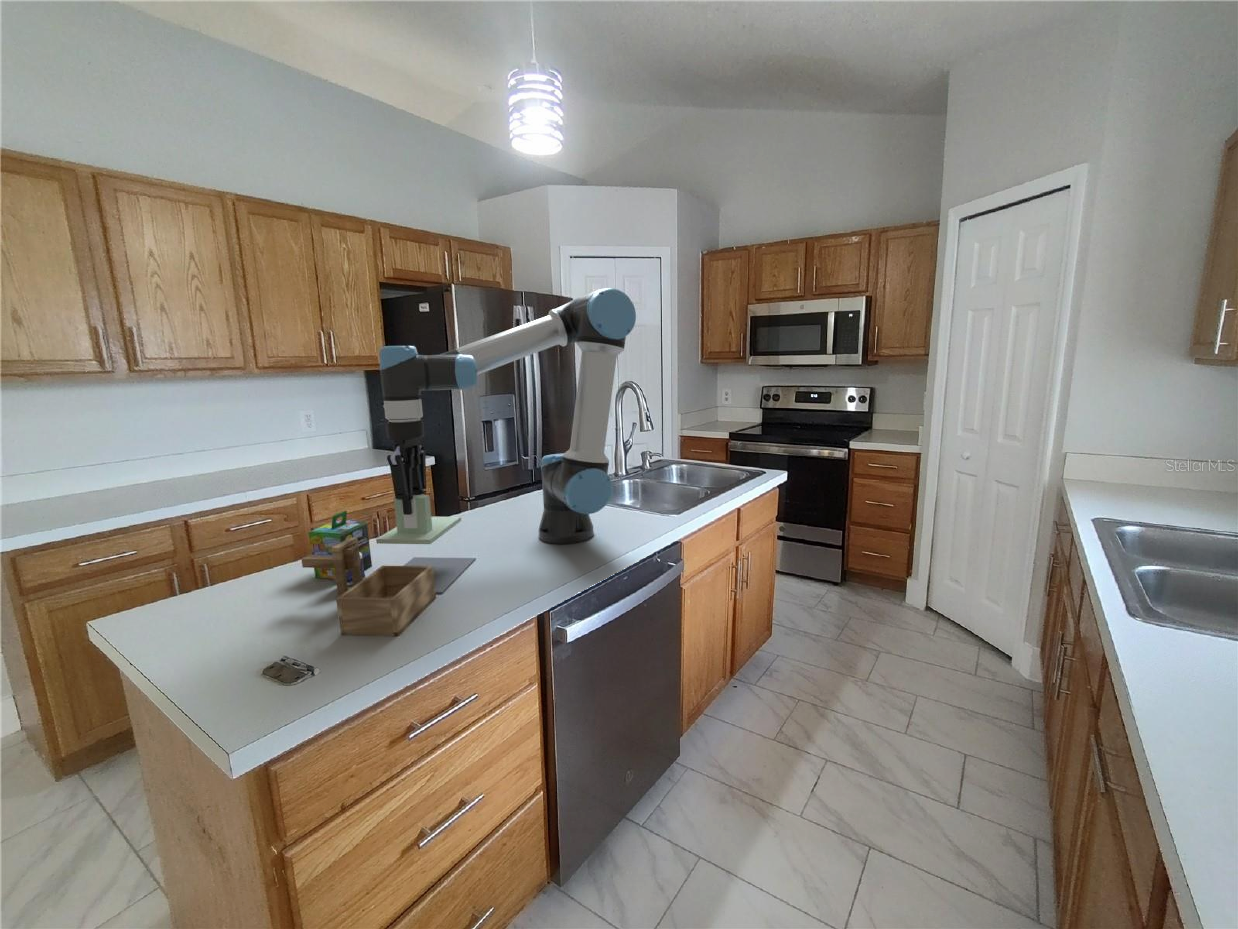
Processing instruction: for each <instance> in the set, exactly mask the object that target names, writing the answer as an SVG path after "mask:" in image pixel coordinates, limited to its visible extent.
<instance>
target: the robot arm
mask: <svg viewBox="0 0 1238 929" xmlns="http://www.w3.org/2000/svg"><path fill="white" fill-rule="evenodd" d="M636 312H637V311H636V307H635V306H634V303H633V301H632V300H631V298H630V297H629V296H628V295H627V294H626V293H625V292H623V291H621V290H620V289H617V288H615V287H614V288H613V287H612V288H611V287H609V288H608V287H606V288H599V289H597V290H595V291H592V292H588V293H584V294H582V295H579V296H577V297H576V298H574V299H572V300H570V301H569V302H567V303H565V304H562V305H561V306H559V307H556V308H552V309H550V310H549V311H548V314H547V315H545V316H543V317H540V318H537V319H535V320H531V321H530V322H526V323H524V324H521V325H517V326H515V327H512V328H510V329H507V330H504V331H501V332H498V333H496V334H493V335H490V336H487V337H484V338H482V339H479V340H475V341H473V342H471V343H467V344H465V345H463V346H460V347H457V348H455V349H452V350H447V351H446V352H445V351H444V352H442V353H440V354H431V355H428V354H427V355H425V354H419V352H418V350H417V347H416V346H415V345H387V346H383V347H381V348H380V349H379V351H378V355H379V373H380V382H381V389H382V396H383V397H382V399H383V409H384V418H385V419H386V420H388V421H386V422H385V430H386V437H387V439H389V440H392V441H393V448H392V449H393V453H392V454H388V455H387V457H386V460H387V463H388V464H389V468H390V474H391V475H390V476H391V481H392V485H393V492H394V497H395V498H396V499H397V500H402V506H403V516H404V526H405V528H418V521H417V511H416V500H415V499H413V495H427V490H426V489H427V486H428V485H427V466H426V465H427V464H426V463H427V462H426V461H427V460H426V454H427V446H426V445H421V443H420V442H421V441H420V440H419V439H422V438H423V437H425V427H424V425H425V424H424V421H423V420H422V419H421V418H423V416H424V414H423V413H424V412H423V411H424V410H423V405H422V404H423V403H422V395H421V391H447V390H448V391H450V390H460V391H463V390H467V389H474V388H475V387H476V386H477V384H478V375H480V374H482V373H483V374H484V373H486V372H489V371H491V370H494V369H497V368H498V367H502V366H505V365H507V364H510V363H512V362H516V361H517V360H520V359H523V358H526V357H528V356H531V355H534V354H536V353H540V352H542V351H544V350H547V349H550V348H553V347H554V346H558V345H559V346H561V347H566V346H568V345H572V344H575V343H576V345H577V347H579V349H580V351H581V357H580V362H579V363H580V364H579V373H578V374H579V375H578V381H577V389H576V397H575V404H574V414H573V420H572V428H571V436H570V437H571V438H570V443H569V444H570V446H569V449H568V450H566V451H565V452H563V453H561V452H560V453H555V454H548V455H544V456H543V457H542V458H541V466H540V470H541V482H542V500H543V501H542V502H543V512H542V515H541V519H540V523H539V527H538V538H539V540H541V541H542V542H544V543H548V544H556V545H565V544H566V545H567V544H576V543H579V542H580V543H581V542H583V541H587V540H589V539H591V538H592V537H593V536H594V523H593V522H592V519H591V516H590V515H591V514H595V513H598V512H600V511H601V510H602V509H604V508H605V507H606V506H607V505H608V503H609V502H610V501H611V498H612V495H613V490H614V488H613V486H614V485H613V482H612V479H611V478H610V475H609V474H608V473H609V466H610V465H609V464H610V460H609V458H608V457H607V455H606V453H605V448H606V443H607V442H606V441H607V434H608V433H607V432H608V427H609V426H608V425H609V418H610V409H611V404H612V403H611V402H612V395H613V389H614V387H613V386H614V381H615V380H614V379H615V373H616V372H615V371H616V367H617V366H616V364H617V358H618V356H619V355H620V354H621V353H622V352H624V351H625V346H626V345H625V344H626V340H627V336H629V335H630V333H631V332H632V331H633V329H634V327H635V324H636V319H637V313H636Z"/></svg>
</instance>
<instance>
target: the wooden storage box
mask: <svg viewBox="0 0 1238 929" xmlns="http://www.w3.org/2000/svg"><path fill="white" fill-rule="evenodd" d="M349 546H358V540H357V538H348V539H346V540H345V541H343V542H341V543H339V544H338V545H336V546H334V547H332V548H331V549H332V556H333V563H334V570H335V578H336V579H335V583H336V585H335V586H336V591H337V598H335V602H336V609H337V615H338V622H339V630H340V635H341V636H372V637H373V636H375V637H376V636H379V637H380V636H381V637H399V636H400V635H401V634H402V633H403V632H404V631H405V630H406V629H407V628H408V627H409V626H410V625H411V624H412V623H413V622H414V621H415V620H416V619H417V618H418V617H419V616H420V615H421V614H422V613H423V612H424V611H425V610H426V609H427V608H428V607H429V606H430V605H431V604H432V603H433V602H434V600H436V599H437V594H436V592H435V582H434V572H433V566H404V565H380V567H378V568H377V569H376V570H374V571H372V572H371V573H370V574H369V575H367V576H365V578H364V579H362V572H361V564H360V565H358V566H357V567H355V568H345V564H344V556H343V550H344V549H345V548H347V547H349ZM350 570H351V573H352V581H353V587H352V588H351V589H349V590H348V586H347V579H346V573H347V572H349V571H350Z"/></svg>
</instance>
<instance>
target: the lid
mask: <svg viewBox="0 0 1238 929" xmlns="http://www.w3.org/2000/svg"><path fill="white" fill-rule="evenodd" d="M430 497H431V496H430V495H429V494H421V495H413V499H415V500H416V511H417V521H418V528H405V526H404V516H403V506H402V500H397V499H396V498H395V496H394V497H393V503H394V504H393V505H394V512H395V523H396V526H395V527H394V528H392V529H391V530H389V531H387V532H385V533H384V534H382V535H381V536H379V537H377V538H375V541H376V544H382V545H383V544H384V545H385V544H386V545H387V544H388V545H389V544H390V545H391V544H392V545H394V544H395V545H432V544H433V543H434V542H436V541H438V539H439V538H441V537H442V536H443V535H445V534H446V533H448V531H450V530H451V529H453V528H454V527H455V526H456V525H458V524H459V523H461V522H462V516H432V512H431V511H432V509H431V500H430V499H431V498H430Z"/></svg>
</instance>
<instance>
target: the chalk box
mask: <svg viewBox="0 0 1238 929" xmlns="http://www.w3.org/2000/svg"><path fill="white" fill-rule="evenodd" d="M347 516H348V511H347V510H343V511H340V512H339V513H336V514H334V515H333V516H332V521H330V522H327V523H324V524H322V525H320V526H318V527H316V528H314V529H312V530H310V531H309V532H308V537H309V543H310V550H311V551H310V552H311V555H332V549H331V548H332V547H334V546H336V545H338V544H339V543H341V542H343V541H345V540H346V539H348V538H357V540H358V546H359V552H360V553H361V554H362V557H363V565H364V572H365V571H367V570H368V569H370V568H372V567H373V562H372V554H371V546H370V545H371V544H370V537H369V530H368V522H367V521H360V520H359V521H358V520H347ZM340 517H341V518H342V519H339V518H340ZM313 570H314V576H315V579H316V578H317V579H330V580H336V578H335V570H334V568H313Z"/></svg>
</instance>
